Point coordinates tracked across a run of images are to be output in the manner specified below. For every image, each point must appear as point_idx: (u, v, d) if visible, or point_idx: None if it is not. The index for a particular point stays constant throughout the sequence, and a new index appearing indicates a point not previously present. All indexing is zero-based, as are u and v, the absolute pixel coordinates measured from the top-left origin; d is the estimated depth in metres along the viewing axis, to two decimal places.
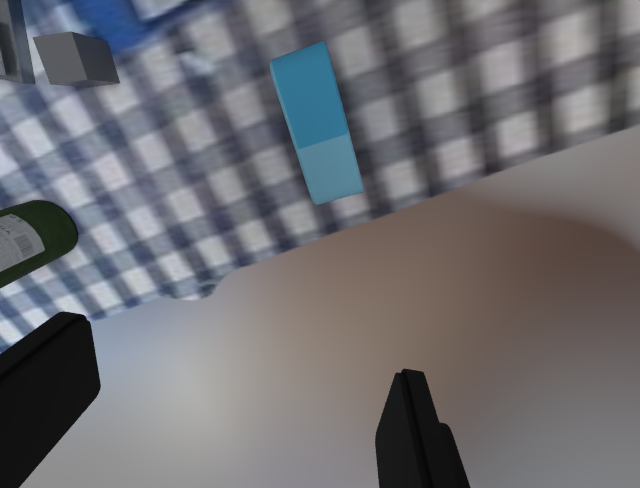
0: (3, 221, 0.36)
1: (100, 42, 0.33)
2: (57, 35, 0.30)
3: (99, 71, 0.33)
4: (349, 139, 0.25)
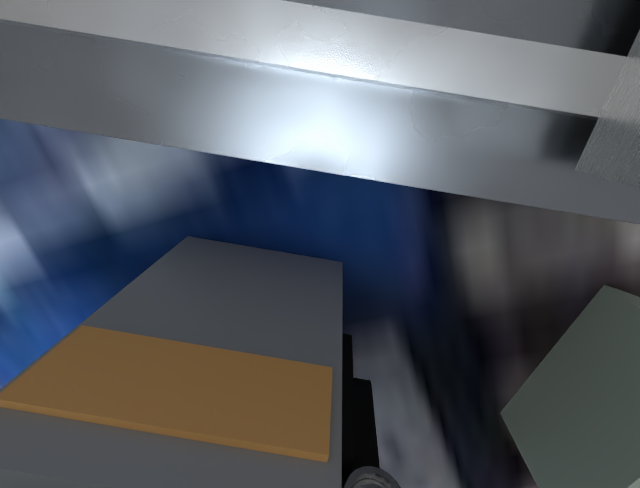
0: None
1: None
2: None
3: None
4: None
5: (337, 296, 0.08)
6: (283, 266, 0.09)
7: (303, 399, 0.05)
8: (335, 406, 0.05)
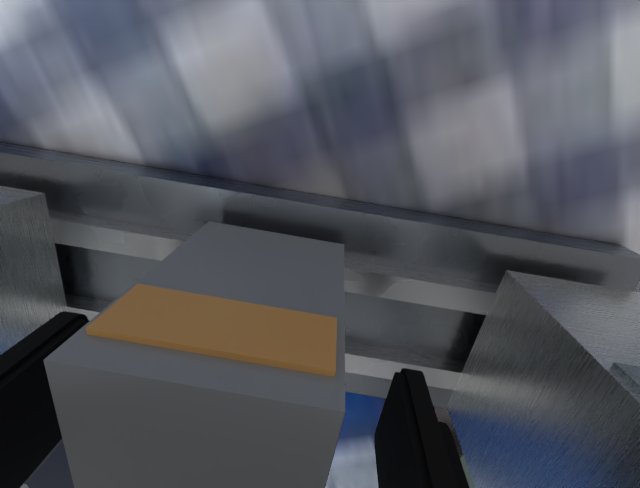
0: None
1: None
2: None
3: None
4: None
5: (340, 270, 0.10)
6: (293, 246, 0.11)
7: (315, 337, 0.07)
8: (339, 344, 0.07)
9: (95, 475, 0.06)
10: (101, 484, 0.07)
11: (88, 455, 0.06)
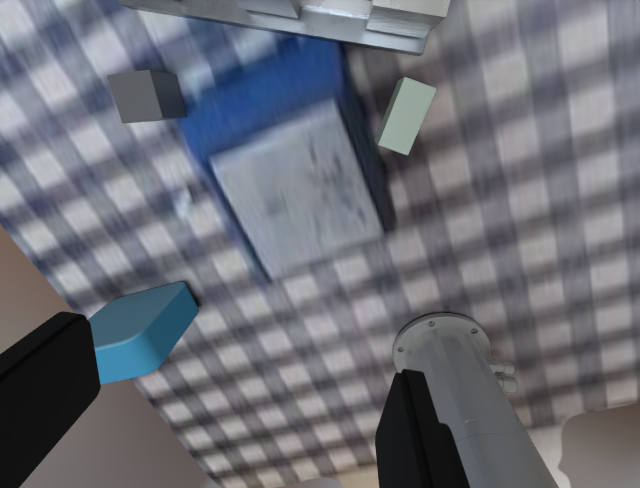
0: None
1: (179, 117, 0.33)
2: (156, 101, 0.29)
3: (144, 121, 0.32)
4: None
5: None
6: None
7: None
8: None
9: None
10: None
11: None
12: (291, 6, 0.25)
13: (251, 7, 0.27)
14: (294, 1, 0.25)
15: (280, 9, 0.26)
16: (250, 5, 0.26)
